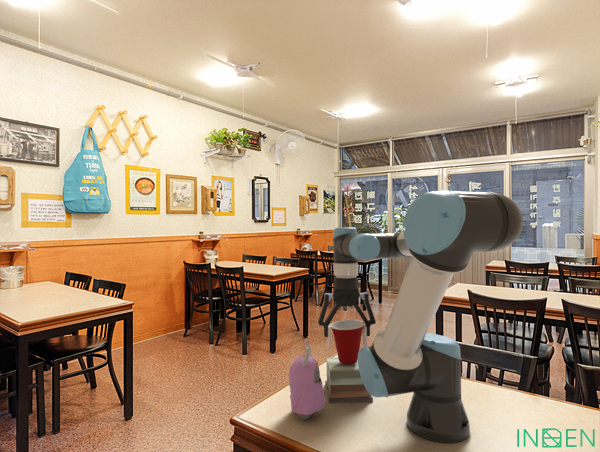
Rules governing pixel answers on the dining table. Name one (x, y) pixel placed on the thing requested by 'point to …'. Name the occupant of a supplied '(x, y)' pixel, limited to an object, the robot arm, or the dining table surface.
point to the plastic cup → (347, 339)
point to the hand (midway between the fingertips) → (347, 346)
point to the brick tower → (345, 383)
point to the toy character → (305, 385)
